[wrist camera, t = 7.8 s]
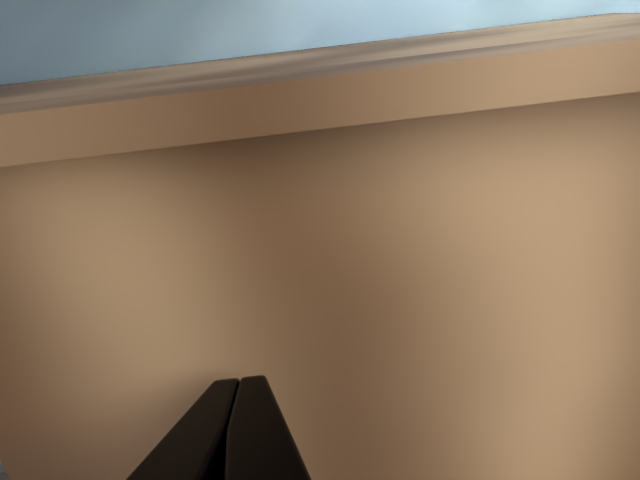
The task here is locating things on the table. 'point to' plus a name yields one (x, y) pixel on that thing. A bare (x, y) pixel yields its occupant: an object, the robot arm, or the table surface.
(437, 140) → the wooden box
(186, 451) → the robot arm
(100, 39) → the table surface
